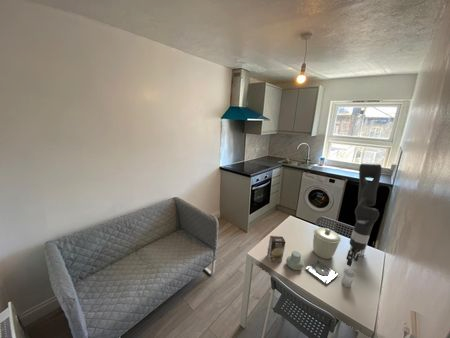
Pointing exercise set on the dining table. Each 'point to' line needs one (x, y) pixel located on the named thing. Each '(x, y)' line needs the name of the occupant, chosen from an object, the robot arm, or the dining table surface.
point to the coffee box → (276, 248)
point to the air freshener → (295, 261)
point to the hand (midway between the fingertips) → (352, 262)
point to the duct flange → (322, 272)
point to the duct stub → (348, 277)
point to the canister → (325, 242)
